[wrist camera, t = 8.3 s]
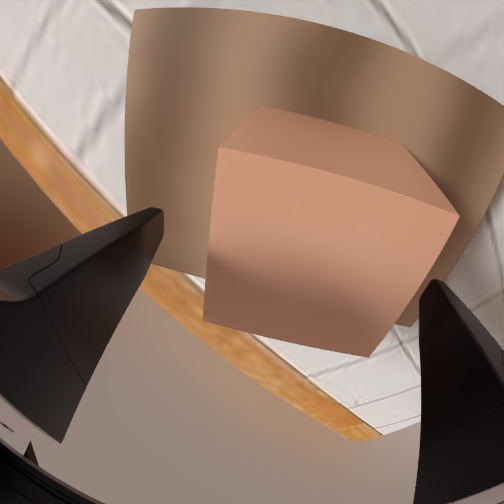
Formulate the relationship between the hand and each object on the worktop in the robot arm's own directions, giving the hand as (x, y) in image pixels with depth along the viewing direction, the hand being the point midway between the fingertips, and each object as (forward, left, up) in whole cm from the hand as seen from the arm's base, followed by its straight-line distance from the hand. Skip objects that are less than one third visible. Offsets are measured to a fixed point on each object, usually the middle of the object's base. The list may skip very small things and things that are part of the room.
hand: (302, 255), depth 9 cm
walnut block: (0, 0, -8) cm, 8 cm away
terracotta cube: (0, 0, -5) cm, 5 cm away
